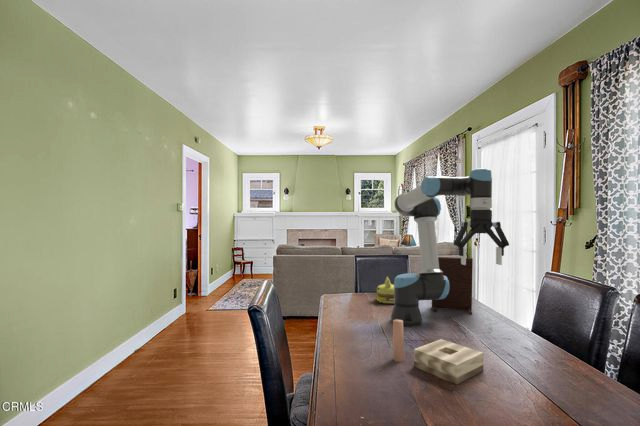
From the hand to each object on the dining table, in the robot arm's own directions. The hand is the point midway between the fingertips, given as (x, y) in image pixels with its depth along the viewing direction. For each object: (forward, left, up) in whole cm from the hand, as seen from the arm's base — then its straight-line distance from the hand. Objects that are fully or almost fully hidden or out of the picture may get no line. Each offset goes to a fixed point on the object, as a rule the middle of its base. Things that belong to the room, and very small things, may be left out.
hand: (481, 264), depth 130 cm
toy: (-75, +31, -34) cm, 88 cm away
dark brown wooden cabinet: (-40, +43, -34) cm, 67 cm away
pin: (-15, -31, -33) cm, 48 cm away
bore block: (0, -23, -33) cm, 41 cm away
